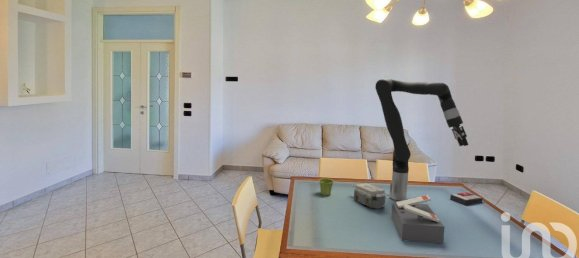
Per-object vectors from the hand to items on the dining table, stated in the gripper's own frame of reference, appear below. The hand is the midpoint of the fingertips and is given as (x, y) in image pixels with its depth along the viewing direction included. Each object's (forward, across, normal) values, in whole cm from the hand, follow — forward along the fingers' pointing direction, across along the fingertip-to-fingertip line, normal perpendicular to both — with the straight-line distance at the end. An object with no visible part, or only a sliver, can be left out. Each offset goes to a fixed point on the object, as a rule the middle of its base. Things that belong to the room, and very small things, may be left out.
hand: (464, 145), depth 184 cm
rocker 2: (+21, +30, -36) cm, 51 cm away
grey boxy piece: (+16, -10, -59) cm, 62 cm away
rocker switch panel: (+30, +20, -40) cm, 54 cm away
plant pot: (+4, -18, -83) cm, 85 cm away
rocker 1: (+18, +15, -36) cm, 43 cm away
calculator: (+35, -30, -4) cm, 46 cm away
